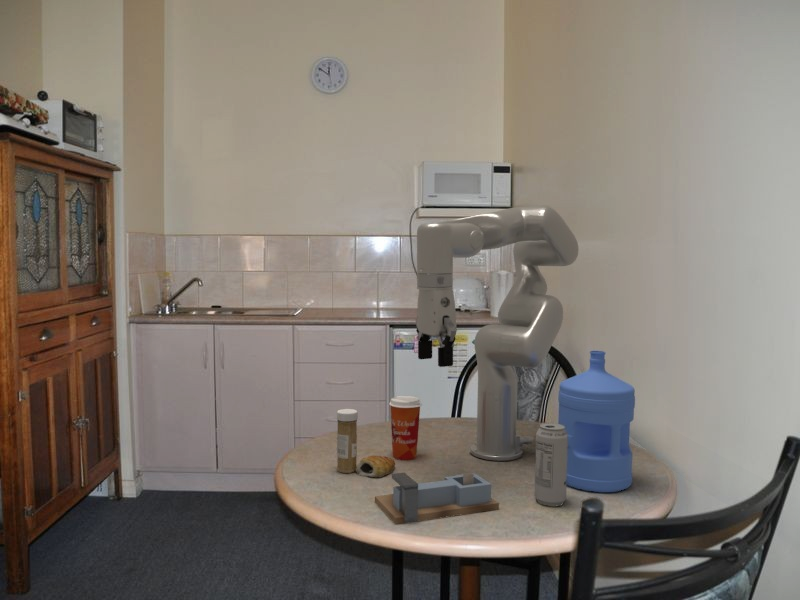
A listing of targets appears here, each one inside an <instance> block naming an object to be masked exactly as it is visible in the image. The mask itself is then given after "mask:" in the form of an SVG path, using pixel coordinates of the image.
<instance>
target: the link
mask: <svg viewBox="0 0 800 600" xmlns="http://www.w3.org/2000/svg"><path fill="white" fill-rule="evenodd" d="M472 473H473V472H472ZM473 474H474V482H473V484H471V485H464V486H463V474H458V475H451V476H445V477H444V480H438V481H431V482H430V481H429V482H422V483H418V509H419V508H426V507H433V506H440V505H447V504H454V503H456V504H457V505H458V506H459V507H462V506H469V505H476V504H483V503H490V502H491V498H492V483H491V482H489V481H487V480H486V479H484V478H483V477H481V476H479V475H478V474H477V473H473ZM392 491H393V493H392V494H393V506H394V507H395V508H396V509H397V510H398V511H402V487H401V486H400V485H398V486H393V490H392Z"/></svg>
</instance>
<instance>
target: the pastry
mask: <svg viewBox="0 0 800 600" xmlns="http://www.w3.org/2000/svg"><path fill="white" fill-rule="evenodd" d="M356 466H357V467H356V471H355V472H356V473H357V475H359V474H360V476H362V475H364V476H363V477H369V478H373V477H375V478H377V477H379V478H383V477H385V475H387V474H388V475H390V474H391V473H392V472H393V471H394V470H395V468H396V467H395V466H396V461H395V460H394V458H391V457H388V456H385V455H383V456H382V455H369V456H367V457H363V458H362V459H361V460H360V461H359V462H358V464H357V465H356ZM391 471H392V472H391ZM390 472H391V473H390Z"/></svg>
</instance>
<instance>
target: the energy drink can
mask: <svg viewBox="0 0 800 600" xmlns="http://www.w3.org/2000/svg"><path fill="white" fill-rule="evenodd" d="M535 436H536V437H535V462H534V463H535V465H534V498H536V502H537V503H539V504H540V505H542V504H543V506H546V505H548V506H547V507H557V506H556V505H560V506H562V505H563V504H564V502H565V501H566V499H567V485H566V482H567V450H568V435H567V433H566V431H565V426H563V425H561V424H558V423H556V422H555V423H554V422H543V423H540V424H539V428H538V429H537V432H536V433H535ZM562 503H563V504H562ZM561 504H562V505H561Z"/></svg>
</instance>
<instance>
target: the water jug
mask: <svg viewBox="0 0 800 600" xmlns="http://www.w3.org/2000/svg"><path fill="white" fill-rule="evenodd" d="M589 353H590V358H589V368H588V369H587V371H584V372H582V373H578V374H576V375H574V376H572V377H569V378H566V379H564V380H562V381H561V382H560V383H559V390H558V420H557V421H558V422H557V424H561V425H563V426H565V431H566V433H567V435H568V450H567V482H566V486H569V487H571V488H573V487H574V489H577V490H580V489H582V491H585V490H587V491H586V492H591V491H594V492H593V493H615V492H621V490H622V491H624V489H625V490H626V489H628V488H629V487H630V486H631V485H632V483H633V472H632V471H633V470H632V468H633V452H632V450H631V447H630V432H631V431H630V430H631V429H630V427H631V425H630V424H631V422H633V421H634V416H635V414H634V413H635V407H636V396H635V387H633V385H632V384H629V383H628V382H626V381H624V380H622V379H620V378H618V377H617V376H615V375H613V374H611V373H609V372H607V370H606V369H605V365H606V359H605V356H606V351H603V350H590V351H589Z"/></svg>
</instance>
